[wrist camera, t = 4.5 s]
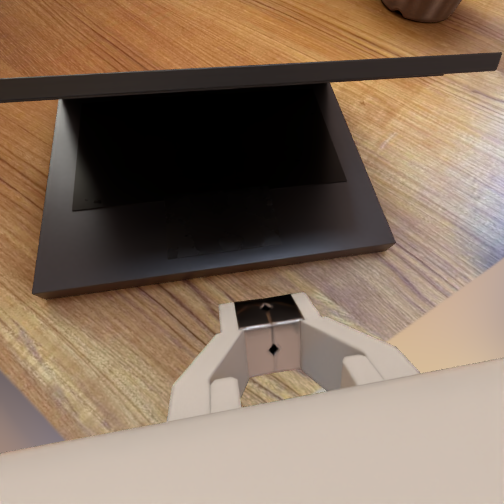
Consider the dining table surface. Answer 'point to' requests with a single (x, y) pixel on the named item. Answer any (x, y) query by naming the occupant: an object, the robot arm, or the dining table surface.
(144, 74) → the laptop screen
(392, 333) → the dining table surface
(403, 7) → the plant pot
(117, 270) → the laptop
